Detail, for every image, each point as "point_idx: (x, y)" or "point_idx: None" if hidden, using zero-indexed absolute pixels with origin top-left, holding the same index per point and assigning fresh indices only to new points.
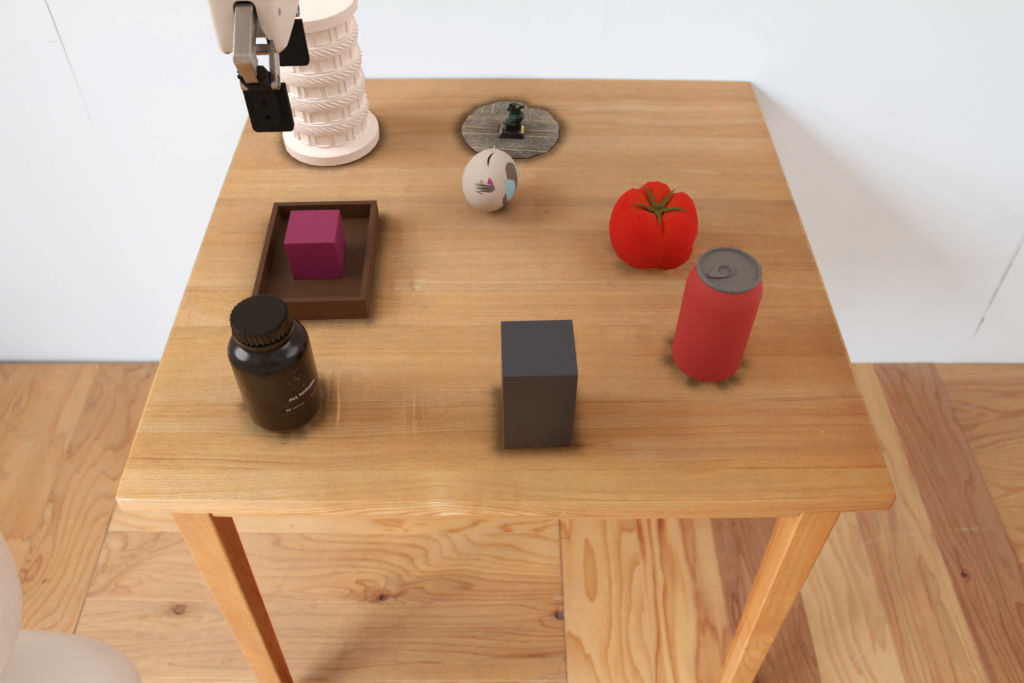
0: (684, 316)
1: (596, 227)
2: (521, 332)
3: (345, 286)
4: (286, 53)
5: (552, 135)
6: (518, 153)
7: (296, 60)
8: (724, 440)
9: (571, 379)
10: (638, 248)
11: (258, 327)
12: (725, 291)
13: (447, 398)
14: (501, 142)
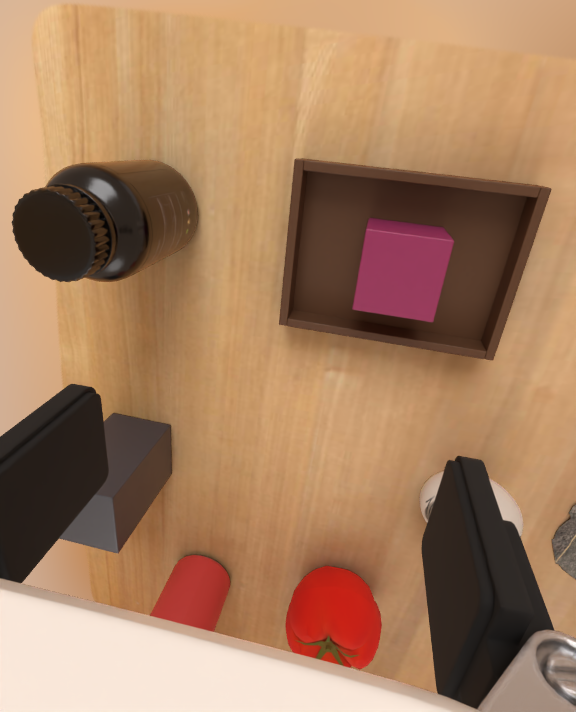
0: (171, 609)
1: (390, 560)
2: (97, 511)
3: (339, 291)
4: (442, 534)
5: None
6: (566, 535)
7: (431, 534)
8: (128, 552)
9: None
10: (298, 599)
11: (27, 237)
12: None
13: (167, 377)
14: None
